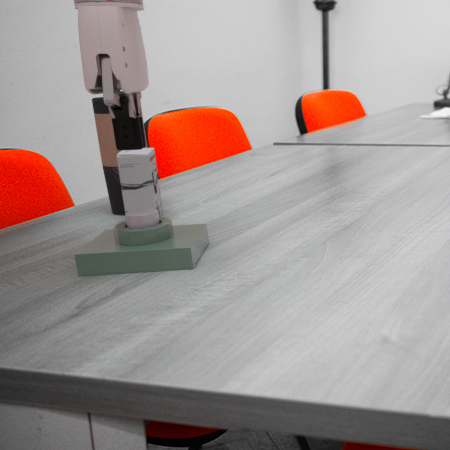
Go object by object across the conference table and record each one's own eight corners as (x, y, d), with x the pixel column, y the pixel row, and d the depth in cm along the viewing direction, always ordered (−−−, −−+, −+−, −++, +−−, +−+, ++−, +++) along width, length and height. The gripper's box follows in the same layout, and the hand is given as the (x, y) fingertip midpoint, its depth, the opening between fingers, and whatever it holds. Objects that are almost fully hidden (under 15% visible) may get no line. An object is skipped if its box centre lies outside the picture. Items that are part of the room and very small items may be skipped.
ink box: (159, 225, 94) (148, 153, 90) (126, 228, 92) (114, 155, 89) (164, 212, 102) (154, 145, 98) (134, 214, 100) (123, 147, 97)
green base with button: (78, 276, 72) (70, 239, 70) (108, 248, 82) (103, 215, 81) (193, 269, 74) (188, 232, 72) (209, 242, 84) (205, 210, 83)
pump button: (123, 231, 74) (120, 216, 74) (132, 223, 78) (130, 208, 78) (155, 229, 75) (153, 214, 74) (163, 221, 79) (161, 207, 78)
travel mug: (164, 205, 107) (149, 95, 101) (141, 216, 99) (123, 98, 94) (126, 204, 108) (109, 96, 102) (101, 215, 100) (80, 99, 95)
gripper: (98, 2, 75) (120, 142, 80) (46, -11, 61) (77, 160, 66) (157, 2, 76) (175, 140, 81) (120, -11, 62) (145, 157, 67)
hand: (131, 148), depth 74 cm, fingers closed
